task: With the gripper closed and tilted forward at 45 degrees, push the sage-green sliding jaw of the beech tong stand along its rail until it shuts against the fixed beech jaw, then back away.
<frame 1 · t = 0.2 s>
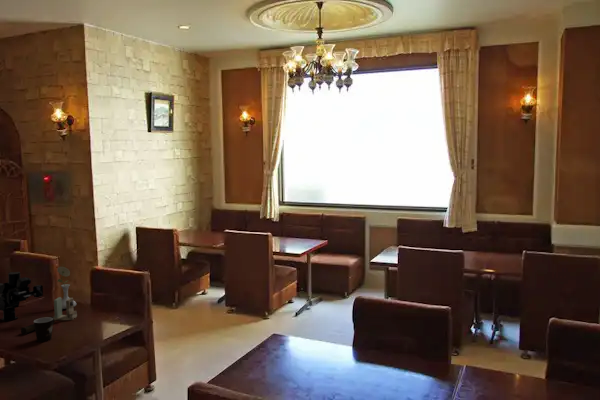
hand: (34, 296, 266), 17 cm above the table, tool horizontal, fingers open, 9 cm apart
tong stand: (64, 318, 281), on the table
sliding jaw: (57, 307, 280), point 6 cm above the table, slide at 0.0 cm
hand tool: (38, 329, 264), on the table
flower in vase: (65, 307, 302), on the table
coffee mug: (47, 339, 250), on the table
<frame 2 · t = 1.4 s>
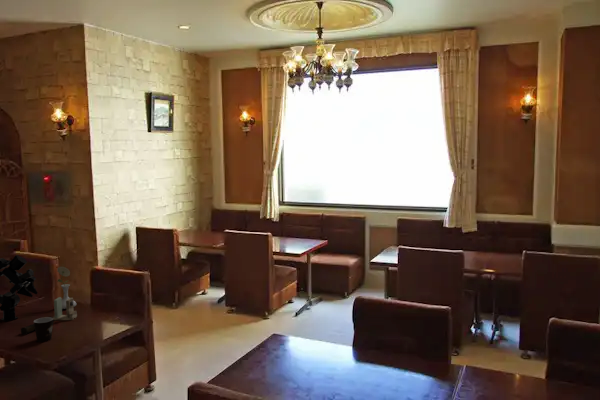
hand: (34, 295, 279), 14 cm above the table, tool tilted 45°, fingers open, 5 cm apart
nothing on the table moved.
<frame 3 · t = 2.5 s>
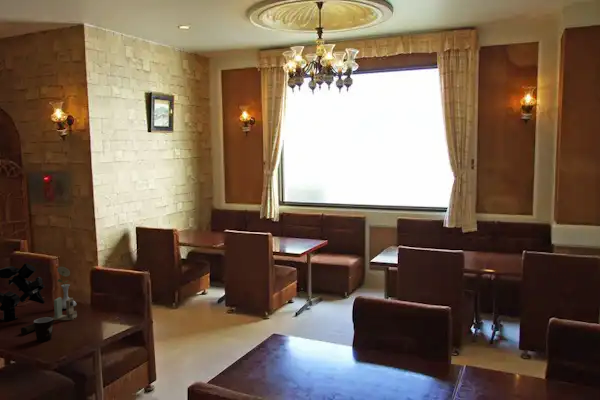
hand: (43, 302, 280), 9 cm above the table, tool tilted 45°, fingers closed
nothing on the table moved.
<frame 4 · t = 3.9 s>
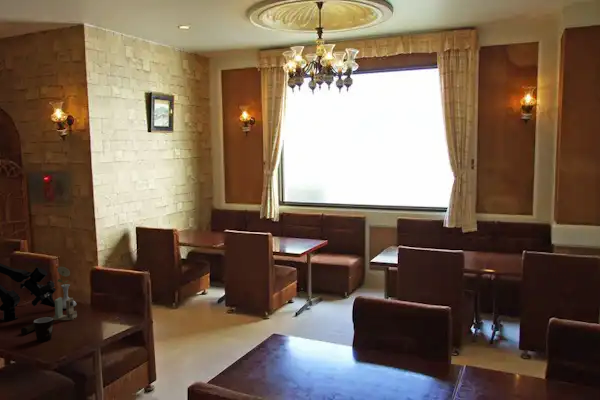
hand: (55, 306, 280), 7 cm above the table, tool tilted 45°, fingers closed, pressing on sliding jaw
sliding jaw: (57, 307, 281), point 6 cm above the table, slide at 0.3 cm, touching gripper
everything else where it was.
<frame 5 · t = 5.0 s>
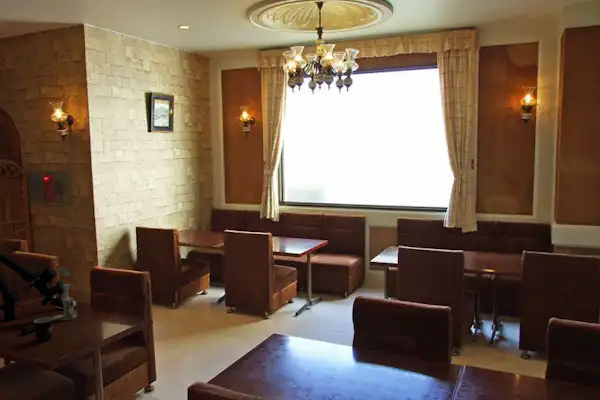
hand: (64, 307, 281), 6 cm above the table, tool tilted 45°, fingers closed, pressing on sliding jaw
sliding jaw: (66, 307, 281), point 6 cm above the table, slide at 5.0 cm, touching gripper, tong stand
everything else where it was.
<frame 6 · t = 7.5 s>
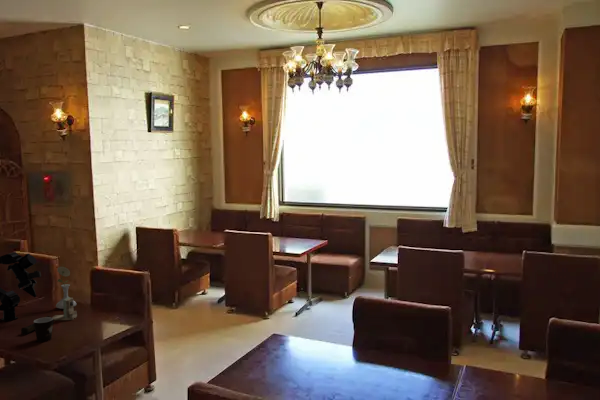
hand: (35, 296, 277), 13 cm above the table, tool tilted 30°, fingers closed
sliding jaw: (66, 307, 281), point 6 cm above the table, slide at 5.0 cm, touching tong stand
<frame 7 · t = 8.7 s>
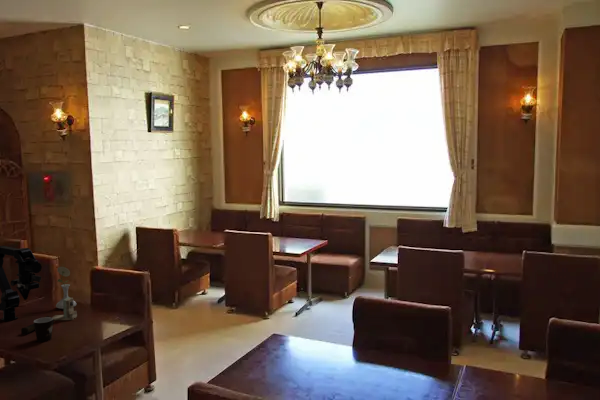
hand: (25, 299, 273), 13 cm above the table, tool pointing down, fingers closed
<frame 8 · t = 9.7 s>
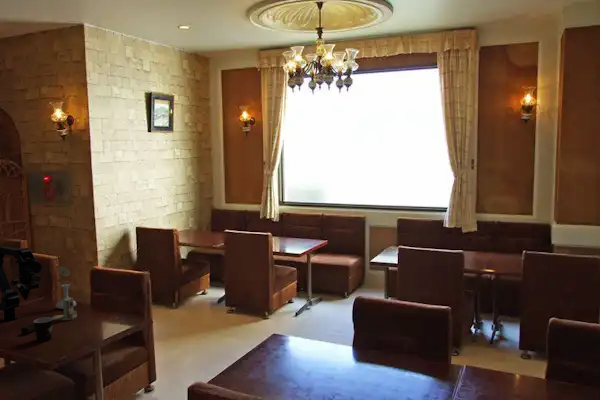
hand: (25, 299, 273), 13 cm above the table, tool pointing down, fingers closed
at the end: sliding jaw slide at 5.0 cm; sliding jaw touching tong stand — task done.
